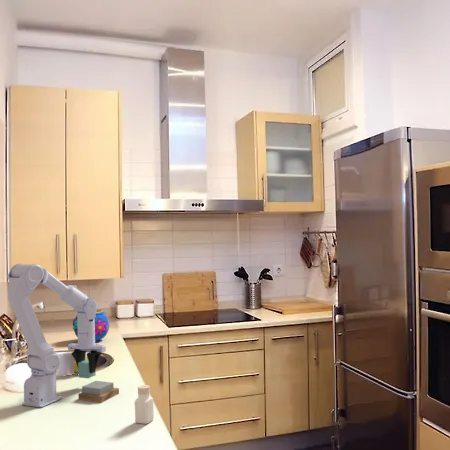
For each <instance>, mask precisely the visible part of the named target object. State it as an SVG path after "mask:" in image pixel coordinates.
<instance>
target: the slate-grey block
mask: <svg viewBox="0 0 450 450" xmlns="http://www.w3.org/2000/svg"><path fill="white" fill-rule="evenodd" d="M114 388H115V387H114V382H110V381H101V380H95V381H92V382H90V383H87V384H85V385H83V386H81V393H86V394H94V395H102V394H104V393H106V392H108V391H110V390H112V389H114Z"/></svg>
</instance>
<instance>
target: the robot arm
mask: <svg viewBox="0 0 450 450" xmlns="http://www.w3.org/2000/svg"><path fill="white" fill-rule="evenodd" d="M6 276H7V277H6V278H7V280H8V288H7V289H8V292H7V299H8V301H9V303H10V305H11V308H12V311H13V314H14V315H15V318H16V321H17V322H18V325H19V328H20V330H21V333H22V336H23V337H24V340H25V342H26V345H27V347H28V348H27V349H26V351H25V354H26V357H27V358H26V359H27V360H26V364H27V367H28V368H29V369H30V372H31V375H30V377H28V378H27V379H26V380H25V381H24V382H23V402H22V403H21V404H22V406H28V407H37V408H44V407H46V406H48V405H51V404H52V403H53V404H54V403H55V402H56V401H59V400H62V399H63V396H62V395H57V372H58V369H59V368H60V366H61V362H62V361H61V357H60V355H59V354H58V353H57V352H56V351H55V350H54V347H53V346H52V345H51V344H50V343H49V342H48V341H47V339H46V337H45V334H44V333H43V332H44V331H43V330H42V327H41V325H40V322H39V320H38V318H37V317H38V316H37V315H36V312H35V309H34V307H33V304H32V302H31V300H30V295H31V294H32V293H33V291H34V290H35V289H36V288H37V286H38V285H40V284H42V285H44V286H45V287H46V288H49V289H50V290H52V291H53V292H55V293H57V294H58V295H59V298H60V300H61V301H63V302H64V303H65V304H67V305H68V306H70V307H71V308H73V309H72V310H73V311H74V312H75V313H76V316H77V323H78V337H77V343H73V342H72V343H69V344H67V350H68V351H72V352H71V356H72V357H73V360H74V359H75V361H76V363H77V366H78V363H79V362H82V361H84V360H85V356H86V353H87V357H88V361H89V371H90V373H94V372H95V370H96V369H97V364H98V362H99V359H100V356H101V355H102V354H103V353H105V352H106V351H107V350H106V349H107V348H106V347H107V346H106V345H102V344H98V343H96V341H95V317H96V311H97V310H99V304H98V302H97V300H96V299H95V298H93V297H88V296H87V293H85V292H82V291H81V290H79V289H78V286H77V285H75V284H73V285H71V284H69V285H66V284H65V283H64V282H62V281H61V280H59V279H58V278H57V277H56V276H54V275H53V274H52V273H50V272H49V271H48V269H46V268H45V267H42V265H40V264H38V263H31V264H30V263H29V264H27V263H16V264H14V265H12V267H11V268H10V270H9V272H8V274H7V275H6Z"/></svg>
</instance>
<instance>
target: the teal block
mask: <svg viewBox="0 0 450 450" xmlns="http://www.w3.org/2000/svg"><path fill="white" fill-rule="evenodd" d="M78 371H79V375H78V379H79V378H80V379H91V378H92V377H95V376H96V375H97V374H96V370H95V372H94V373H90V371H89V361H88V360H84V361H82V362H79V363H78Z"/></svg>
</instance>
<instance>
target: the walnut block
mask: <svg viewBox="0 0 450 450" xmlns="http://www.w3.org/2000/svg"><path fill="white" fill-rule="evenodd" d="M119 394H120V388H119V387H114V389H112V390H110V391H108V392H106V393H104V394H102V395H94V394H86V393H82V392H79V393H78V394H77V395H78V401H87V402H93V403H94V402H95V403H104V402H106V401H108V400H110V399H112V398H113V397H115V396H117V395H119Z"/></svg>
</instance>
